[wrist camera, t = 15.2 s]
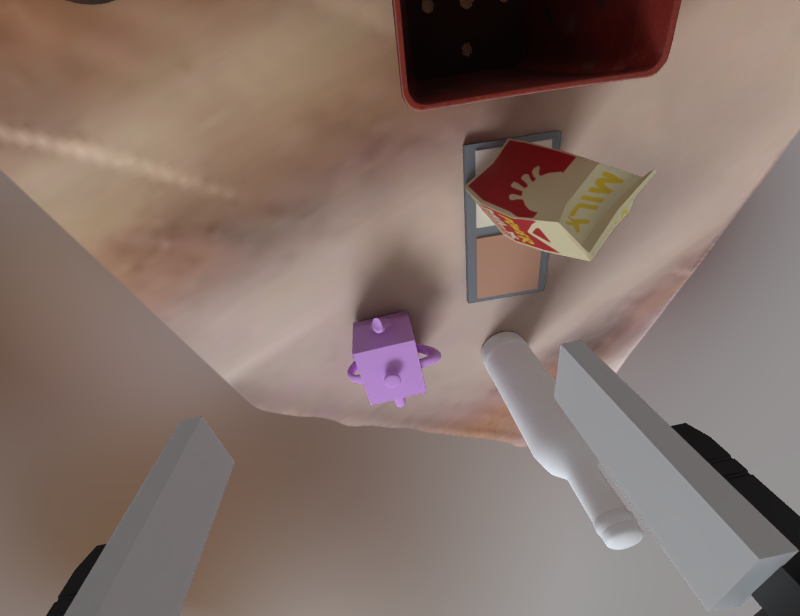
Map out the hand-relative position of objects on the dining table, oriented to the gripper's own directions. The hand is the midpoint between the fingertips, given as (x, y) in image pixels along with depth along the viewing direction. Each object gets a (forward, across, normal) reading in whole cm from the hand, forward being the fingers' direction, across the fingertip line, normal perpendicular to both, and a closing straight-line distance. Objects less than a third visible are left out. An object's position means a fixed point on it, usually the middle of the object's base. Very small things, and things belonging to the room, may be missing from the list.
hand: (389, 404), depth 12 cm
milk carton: (+33, +18, -1) cm, 38 cm away
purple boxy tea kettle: (+34, -1, -21) cm, 40 cm away
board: (+34, +19, -6) cm, 39 cm away
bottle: (+34, +18, -28) cm, 48 cm away
